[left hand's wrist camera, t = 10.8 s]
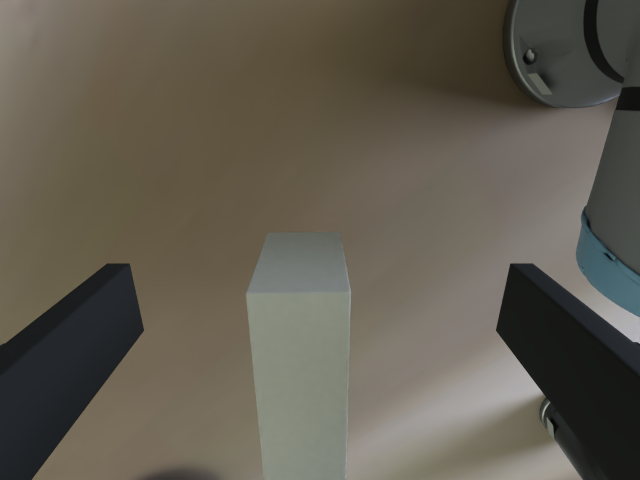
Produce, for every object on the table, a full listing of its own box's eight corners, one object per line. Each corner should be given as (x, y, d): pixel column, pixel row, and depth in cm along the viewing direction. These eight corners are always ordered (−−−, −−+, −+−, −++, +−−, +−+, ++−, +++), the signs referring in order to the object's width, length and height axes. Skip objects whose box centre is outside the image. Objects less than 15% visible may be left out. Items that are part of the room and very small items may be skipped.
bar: (267, 232, 27) (245, 293, 18) (340, 231, 27) (350, 291, 18) (284, 476, 36) (274, 588, 28) (337, 475, 36) (343, 587, 28)
